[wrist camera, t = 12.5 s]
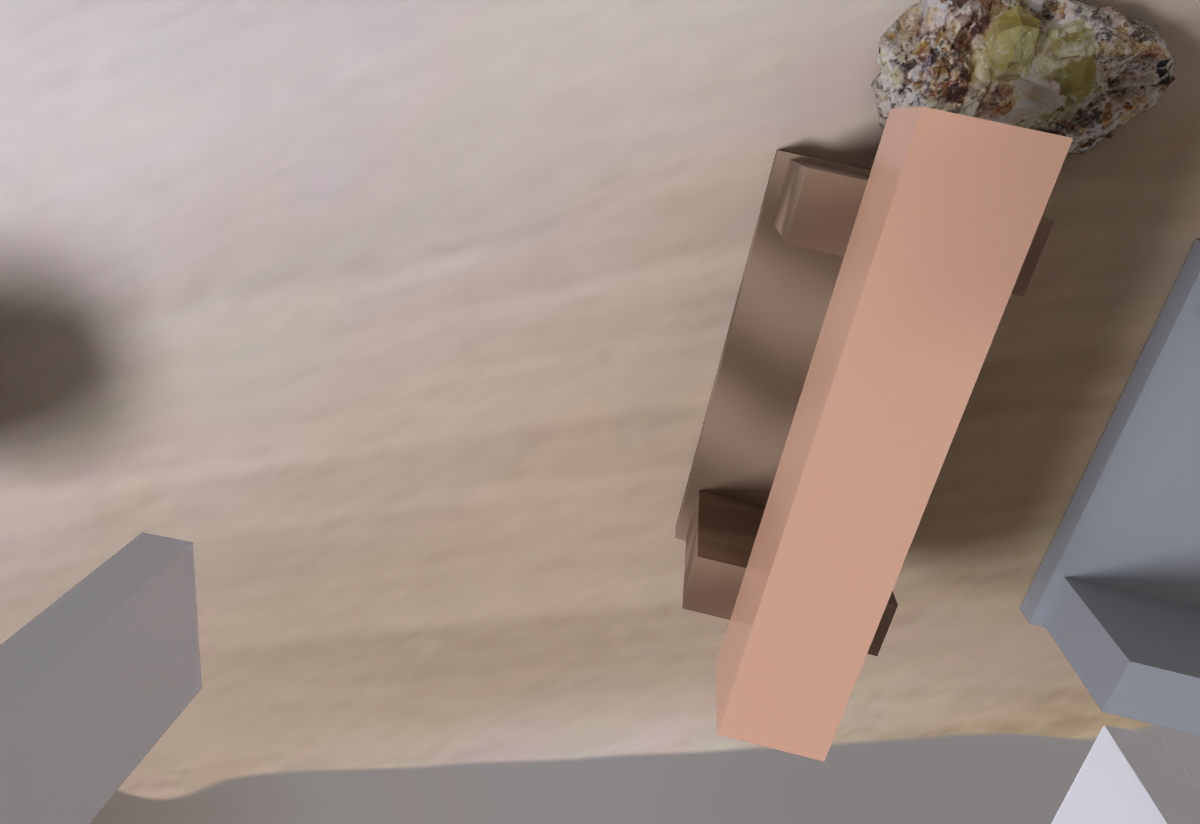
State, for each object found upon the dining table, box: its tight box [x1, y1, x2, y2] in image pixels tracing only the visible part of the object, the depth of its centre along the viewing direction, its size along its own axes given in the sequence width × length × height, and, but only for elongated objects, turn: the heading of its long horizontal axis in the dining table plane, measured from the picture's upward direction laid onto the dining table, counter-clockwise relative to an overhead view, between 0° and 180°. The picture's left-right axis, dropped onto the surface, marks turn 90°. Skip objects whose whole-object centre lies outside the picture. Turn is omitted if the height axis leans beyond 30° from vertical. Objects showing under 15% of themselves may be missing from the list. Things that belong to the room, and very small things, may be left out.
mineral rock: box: [871, 0, 1175, 154], centre depth 29 cm, size 11×4×8 cm
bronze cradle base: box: [675, 150, 1054, 656], centre depth 32 cm, size 18×9×7 cm, turn 169°
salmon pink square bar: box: [716, 107, 1073, 761], centre depth 27 cm, size 22×4×4 cm, turn 169°
